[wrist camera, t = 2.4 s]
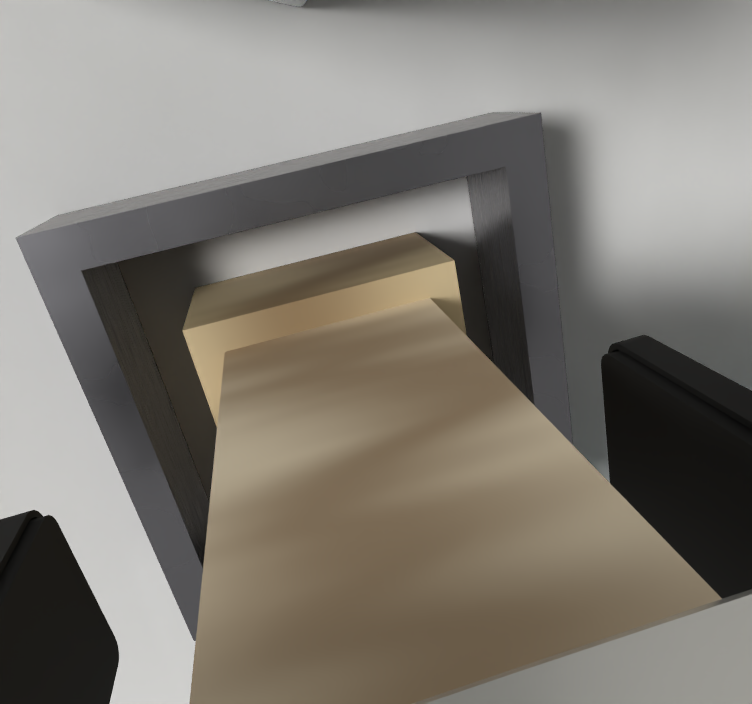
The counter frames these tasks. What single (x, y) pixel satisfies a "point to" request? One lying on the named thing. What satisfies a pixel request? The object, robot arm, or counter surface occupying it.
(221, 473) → the strut
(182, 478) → the collar
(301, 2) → the supplement box
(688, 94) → the counter surface
